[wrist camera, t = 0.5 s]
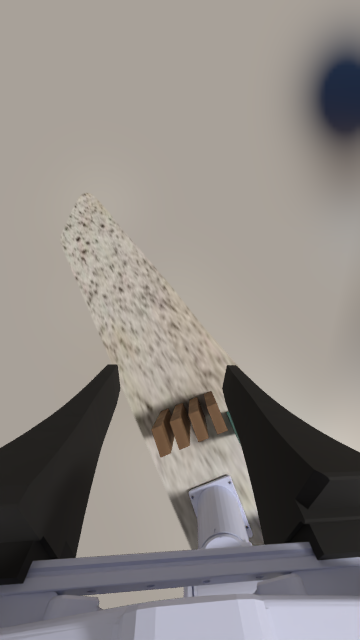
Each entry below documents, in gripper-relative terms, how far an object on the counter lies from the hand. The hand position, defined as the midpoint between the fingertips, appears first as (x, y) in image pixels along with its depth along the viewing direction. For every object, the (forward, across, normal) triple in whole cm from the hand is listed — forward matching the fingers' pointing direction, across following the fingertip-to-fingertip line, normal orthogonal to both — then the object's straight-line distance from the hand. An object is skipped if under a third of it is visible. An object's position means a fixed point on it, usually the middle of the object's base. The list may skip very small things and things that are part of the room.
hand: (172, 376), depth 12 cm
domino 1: (+14, 0, +24) cm, 27 cm away
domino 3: (+15, -6, +21) cm, 26 cm away
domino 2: (+14, -3, +22) cm, 27 cm away
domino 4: (+15, -8, +20) cm, 26 cm away
